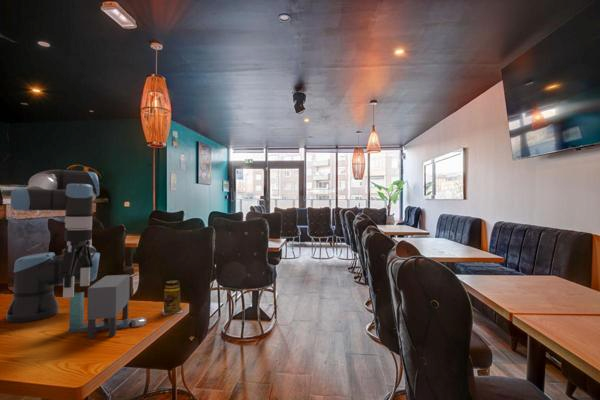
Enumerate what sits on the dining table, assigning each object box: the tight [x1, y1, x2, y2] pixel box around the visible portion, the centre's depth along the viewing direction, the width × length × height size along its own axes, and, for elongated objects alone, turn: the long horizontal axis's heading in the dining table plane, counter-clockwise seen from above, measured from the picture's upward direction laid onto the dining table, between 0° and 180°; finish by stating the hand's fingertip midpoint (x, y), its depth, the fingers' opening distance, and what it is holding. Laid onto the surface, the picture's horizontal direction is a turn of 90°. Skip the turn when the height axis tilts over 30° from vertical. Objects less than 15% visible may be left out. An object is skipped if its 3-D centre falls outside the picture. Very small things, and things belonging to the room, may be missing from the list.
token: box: [130, 316, 147, 328], centre depth 109 cm, size 5×5×2 cm
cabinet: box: [86, 274, 131, 340], centre depth 107 cm, size 18×8×16 cm, turn 17°
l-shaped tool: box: [67, 291, 133, 334], centre depth 106 cm, size 18×5×12 cm, turn 106°
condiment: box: [161, 280, 183, 316], centre depth 124 cm, size 7×8×12 cm
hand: (77, 291), depth 104 cm, fingers open, 13 cm apart
